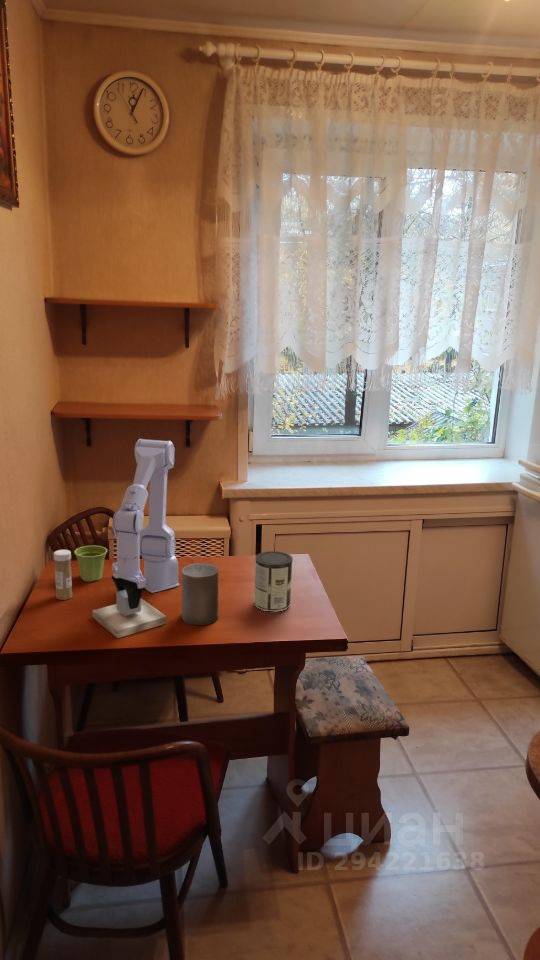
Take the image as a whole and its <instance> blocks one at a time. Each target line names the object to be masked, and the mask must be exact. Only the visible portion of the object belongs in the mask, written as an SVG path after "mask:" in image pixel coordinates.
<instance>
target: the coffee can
mask: <svg viewBox="0 0 540 960" xmlns="http://www.w3.org/2000/svg"><path fill="white" fill-rule="evenodd" d="M293 562H294V561H293V557H292V555H290V554H289V553H286V552H283V551H274V550H273V551H272V550H270V551H263V552H260V553H258V554H257V555H256V556H255V570H254V571H255V577H254V579H255V580H254V603H253V605H254V604H255V605H254V606H256V607H257V608H256V607H255V608H256V609H258V608H259V609H261V610H260V611H262V610H264V611H263V612H265V611H274V612H273V613H276V612H275V611H281V610H285V609H287V608H288V607H289V606H290V607H291V597H292V595H291V594H292V591H291V590H292V569H293ZM290 607H289V608H290ZM289 608H288V609H289ZM259 609H258V610H259ZM288 609H287V610H288ZM285 611H286V610H285Z"/></svg>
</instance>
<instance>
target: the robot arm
mask: <svg viewBox="0 0 540 960" xmlns="http://www.w3.org/2000/svg"><path fill="white" fill-rule="evenodd" d="M134 457H135V461H136V464H137V465H136V468H135V469H136V470H135V474H134V477H133V478H134V479H133V482H132V485H130V486H128V487H127V488H126V490H125V493H124V496H123V499H122V502H121V505H120V508H119V509H118V511H117V510H116V511H115V512H114V514H113V516H112V524H111V526H112V527H111V528H112V530H113V532H114V533H113V534H114V539H116V562H113V563H112V564H111V565H112V566H111V568H112V571H113V572H114V573H112V574H113V575H112V576H110V577H111V580H112V581H113V583H114V586H115V588H116V592H117V591H121V590H126V592H127V596H128V602H129V607H130V609H134V608H138V606H139V602H140V598H141V599H142V595H143V592H144V590H147V591H148V592H150V593H152V594H155V593H157V592H161V591H165V590H168V589H172V588H177V587H179V586H180V583H179V562H178V558H177V557H176V556H175V551H176V545H177V544H176V539H175V538H176V536H175V531H174V530H173V529H172V528H170V527H169V526H168V525H167V524H166V519H167V518H166V514H167V496H168V494H167V493H168V492H167V491H168V473H169V470H170V469H174V465H175V446H174V443H173V442H172V441H171V440H156V439H143V438H139V439H138V440H136V442H135V445H134ZM148 485H149V492H148V490H147V487H148ZM148 498H149V502H148V503H149V506H148V524H147V525H146V526H144V516H145V514H144V510H145V507H146V503H147V500H148ZM143 526H144V527H143ZM141 557H142V558H141ZM141 559H143V560H144V561H143V563H144V566H143V567H144V568H143V570H144V571H143V572H144V573H142V571H141ZM143 574H144V576H143Z"/></svg>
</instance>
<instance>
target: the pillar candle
mask: <svg viewBox="0 0 540 960" xmlns="http://www.w3.org/2000/svg"><path fill="white" fill-rule="evenodd" d="M218 612H219V569H218V567H217V566H216V565H214V564H209V563H203V562H201V563H199V562H198V563H192V564H187V565H186V566H184V567H183V568H182V569H181V618H182V620H183V622H184V623H186V624H188V625H192V626H206V625H207V626H208V625H210V624H213V623H215V622H217V621H218V618H219V613H218Z"/></svg>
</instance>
